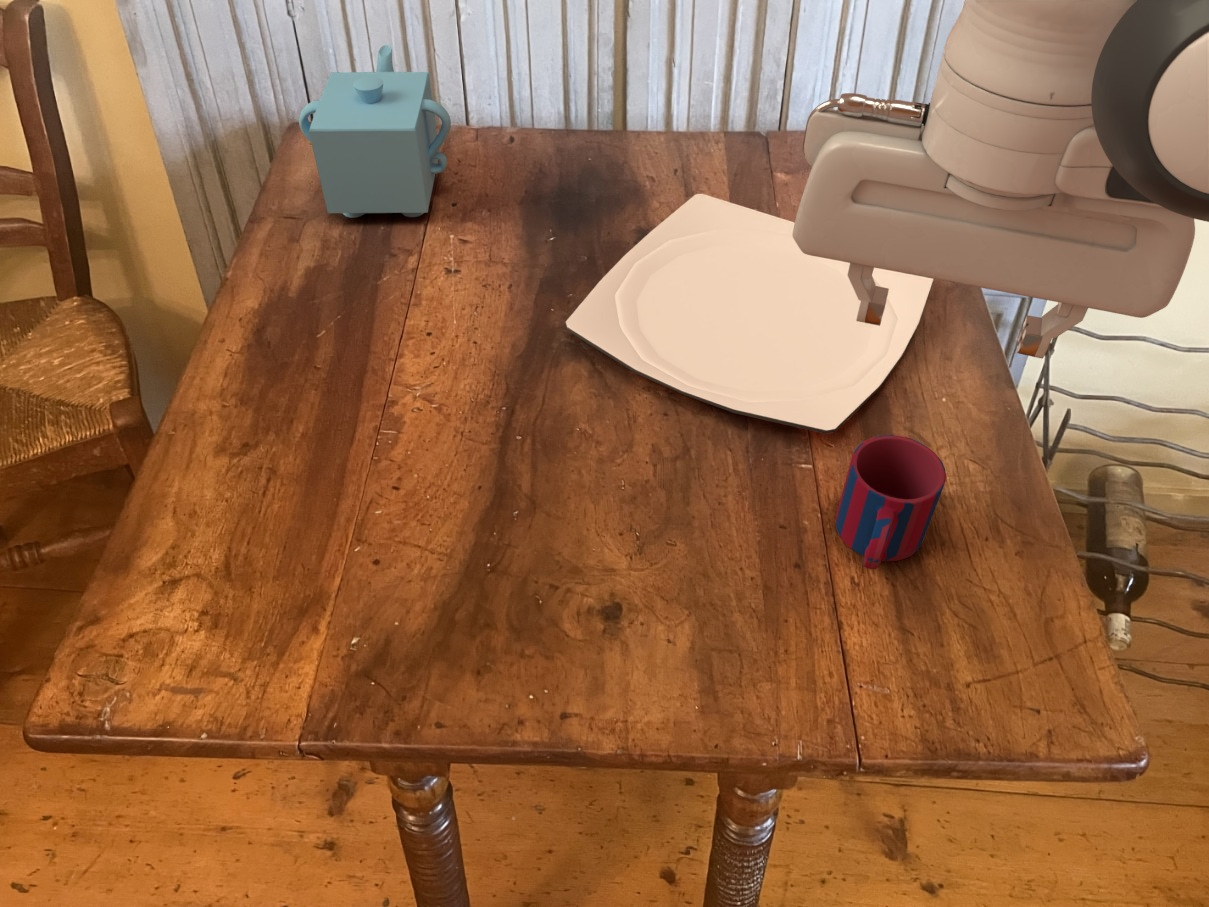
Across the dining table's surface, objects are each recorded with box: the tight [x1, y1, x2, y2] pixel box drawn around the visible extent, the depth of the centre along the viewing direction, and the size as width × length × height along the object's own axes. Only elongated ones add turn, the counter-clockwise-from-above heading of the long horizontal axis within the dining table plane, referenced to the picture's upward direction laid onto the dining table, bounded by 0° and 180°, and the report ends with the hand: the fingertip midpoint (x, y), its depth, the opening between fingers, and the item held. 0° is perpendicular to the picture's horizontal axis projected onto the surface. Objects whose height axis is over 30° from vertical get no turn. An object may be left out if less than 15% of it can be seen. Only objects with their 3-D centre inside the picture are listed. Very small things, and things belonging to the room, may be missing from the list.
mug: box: [835, 434, 947, 571], centre depth 72 cm, size 7×10×7 cm
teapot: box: [298, 44, 452, 219], centre depth 106 cm, size 18×16×13 cm
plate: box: [564, 193, 935, 435], centre depth 92 cm, size 29×29×3 cm
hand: (947, 333), depth 59 cm, fingers open, 8 cm apart
